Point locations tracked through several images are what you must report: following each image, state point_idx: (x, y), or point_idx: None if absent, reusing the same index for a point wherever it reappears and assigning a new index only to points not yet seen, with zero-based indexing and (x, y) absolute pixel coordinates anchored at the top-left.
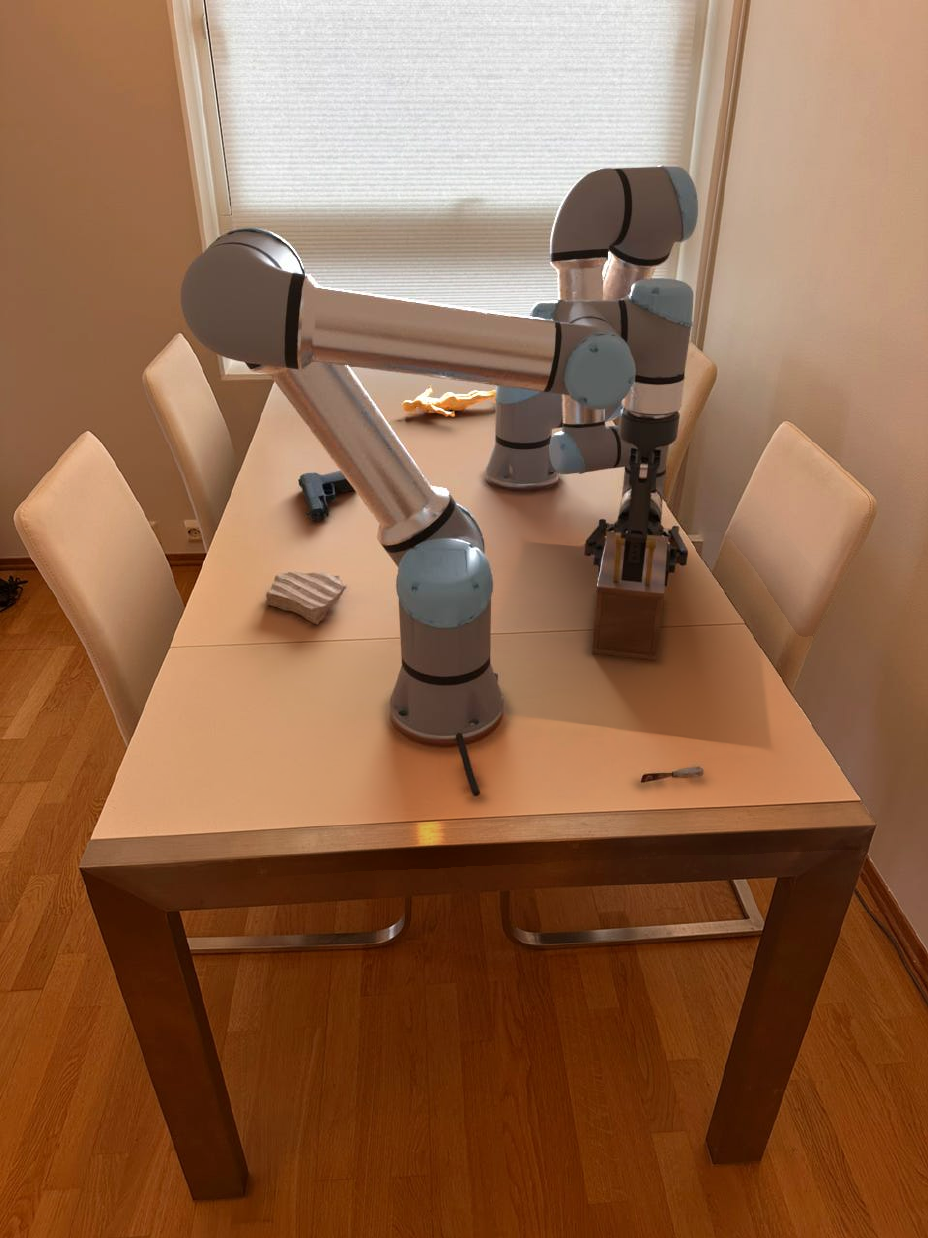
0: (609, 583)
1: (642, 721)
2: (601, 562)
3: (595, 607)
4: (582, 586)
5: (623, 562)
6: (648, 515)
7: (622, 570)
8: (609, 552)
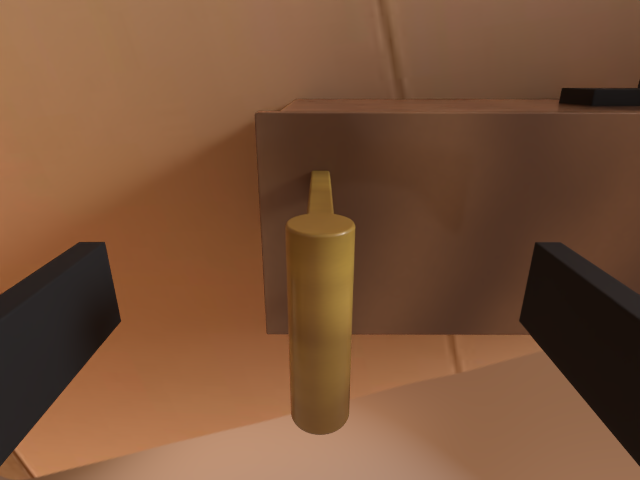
0: (290, 159)
1: (88, 222)
2: (610, 96)
3: (287, 106)
4: (623, 38)
5: (13, 287)
6: (587, 401)
7: (48, 264)
8: (550, 138)
